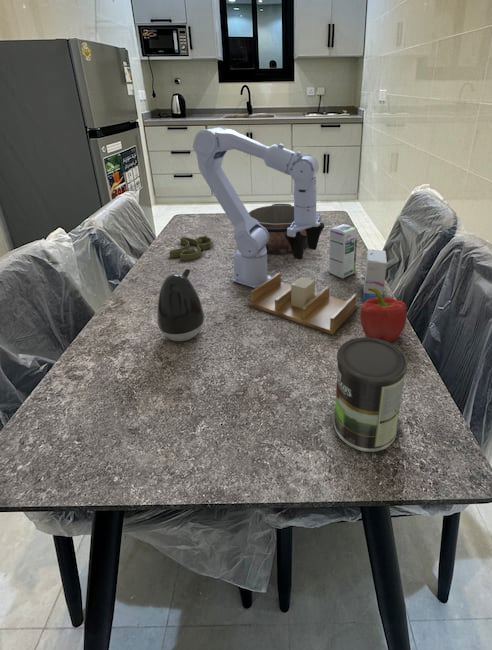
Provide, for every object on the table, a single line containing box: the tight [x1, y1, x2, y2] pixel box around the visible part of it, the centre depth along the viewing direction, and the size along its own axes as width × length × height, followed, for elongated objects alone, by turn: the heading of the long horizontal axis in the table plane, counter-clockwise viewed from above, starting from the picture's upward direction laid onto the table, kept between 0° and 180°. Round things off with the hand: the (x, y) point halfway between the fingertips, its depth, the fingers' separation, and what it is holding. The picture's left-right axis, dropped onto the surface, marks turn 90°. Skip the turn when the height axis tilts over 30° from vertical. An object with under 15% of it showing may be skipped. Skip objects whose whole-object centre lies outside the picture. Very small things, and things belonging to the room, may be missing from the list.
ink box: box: [363, 248, 388, 303], centre depth 101 cm, size 8×5×12 cm, turn 168°
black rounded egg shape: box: [156, 268, 205, 342], centre depth 85 cm, size 10×10×15 cm
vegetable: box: [359, 287, 408, 343], centre depth 85 cm, size 11×10×10 cm
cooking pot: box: [248, 203, 308, 255], centre depth 137 cm, size 30×22×11 cm
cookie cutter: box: [169, 235, 213, 261], centre depth 134 cm, size 18×12×2 cm, turn 175°
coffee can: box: [333, 336, 408, 453], centre depth 61 cm, size 10×10×14 cm
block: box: [291, 276, 316, 308], centre depth 97 cm, size 4×5×6 cm
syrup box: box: [328, 223, 358, 279], centre depth 113 cm, size 6×6×14 cm
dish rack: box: [248, 272, 358, 336], centre depth 97 cm, size 24×14×4 cm, turn 56°
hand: (305, 253), depth 103 cm, fingers open, 7 cm apart
